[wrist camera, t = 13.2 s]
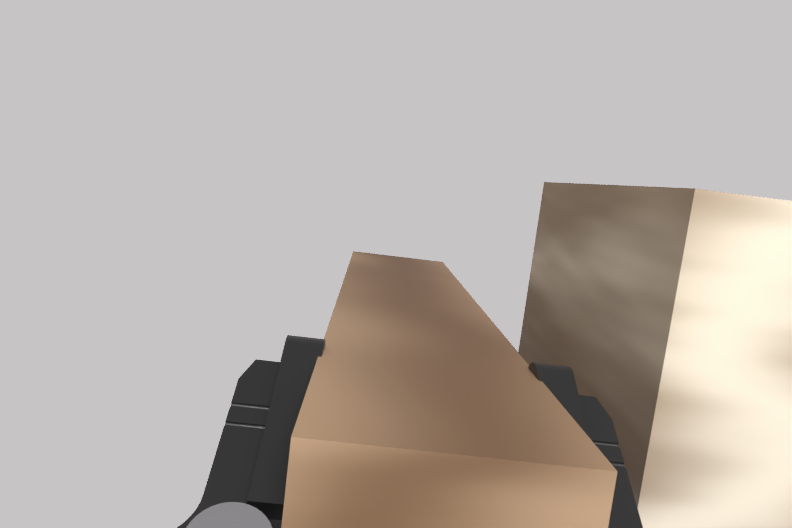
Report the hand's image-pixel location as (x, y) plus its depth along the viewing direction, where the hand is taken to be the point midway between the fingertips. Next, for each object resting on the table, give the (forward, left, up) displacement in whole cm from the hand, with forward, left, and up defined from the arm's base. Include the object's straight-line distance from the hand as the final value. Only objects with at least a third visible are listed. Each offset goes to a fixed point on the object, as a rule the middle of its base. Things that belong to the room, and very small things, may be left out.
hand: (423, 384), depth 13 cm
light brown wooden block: (0, +6, -3) cm, 7 cm away
